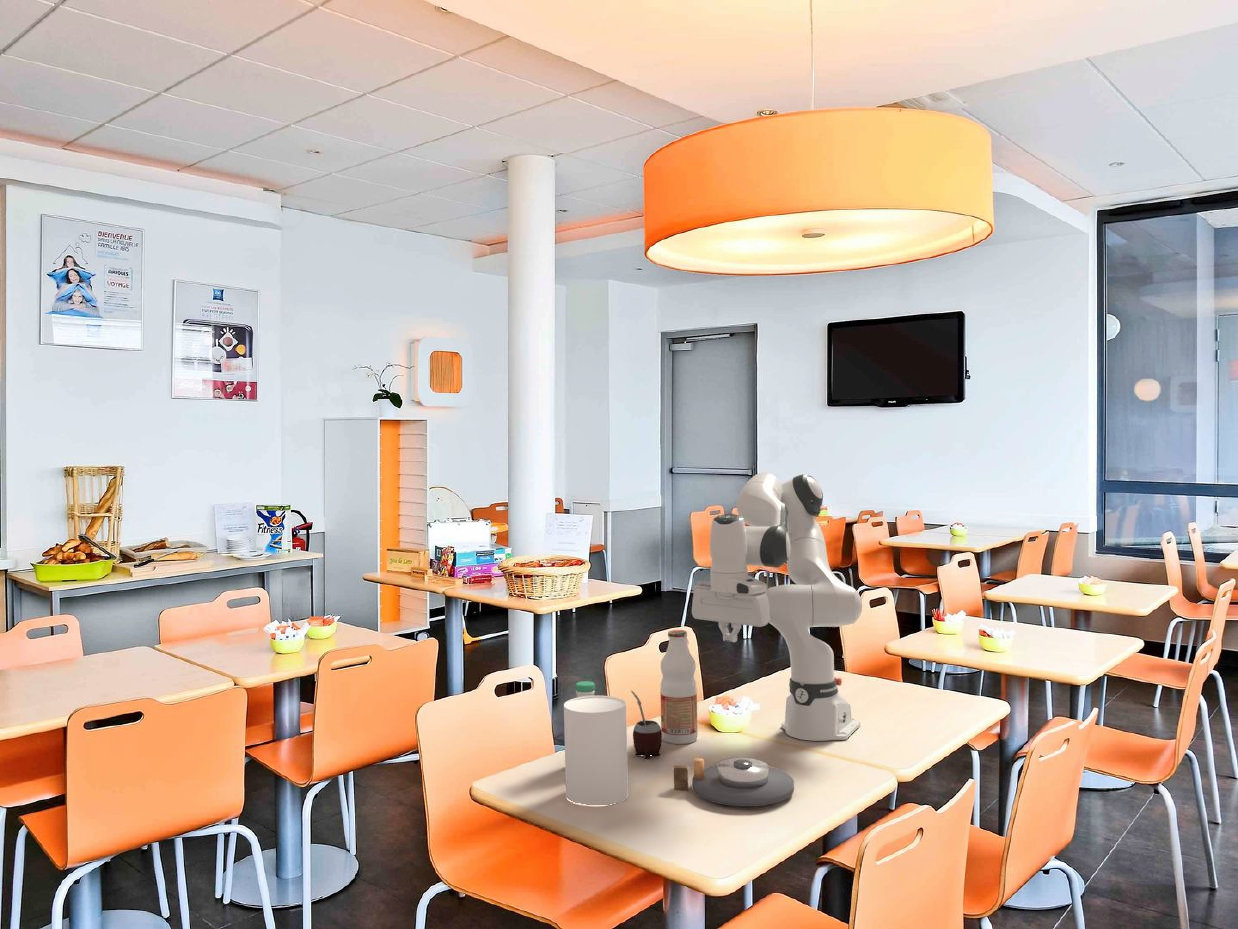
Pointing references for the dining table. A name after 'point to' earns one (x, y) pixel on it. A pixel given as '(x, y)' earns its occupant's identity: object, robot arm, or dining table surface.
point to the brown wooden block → (680, 778)
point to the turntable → (714, 791)
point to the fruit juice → (678, 692)
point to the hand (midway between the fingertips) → (730, 641)
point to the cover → (743, 773)
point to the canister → (595, 750)
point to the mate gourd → (646, 736)
